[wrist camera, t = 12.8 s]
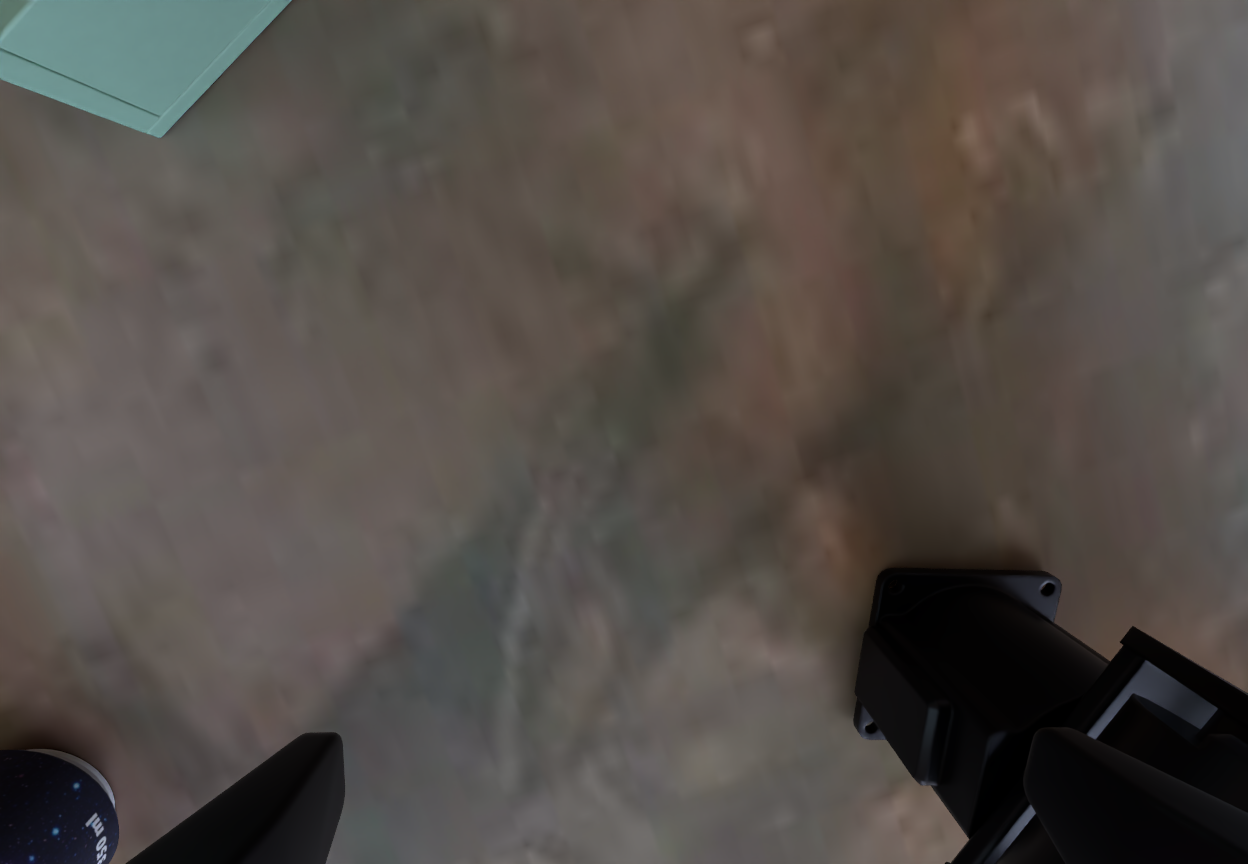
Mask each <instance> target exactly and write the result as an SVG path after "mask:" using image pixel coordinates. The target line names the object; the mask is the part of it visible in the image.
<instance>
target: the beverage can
mask: <svg viewBox="0 0 1248 864" xmlns="http://www.w3.org/2000/svg"><path fill="white" fill-rule="evenodd" d="M118 839H119V825H118V819H117V814H116V811H115V800H114V796H113V792H112V790H111V788H110V786H109V784H108V782H107V781H106V780H105V778H104V777H103V776H102V775H101V774H100V773H99V771H98V770H96V769H95V768H94V767H93V766H91V765H90V764H89V763H87V762H85V761H84V760H82V759H80V758H78V757H76V756H73V755H71V754H68V753H65V752H61V751H56V750H51V749H29V750H0V864H109V862H110V861H111V859H112V857H113V855H114V853H115V851H116V848H117V844H118Z"/></svg>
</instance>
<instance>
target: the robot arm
mask: <svg viewBox="0 0 1248 864" xmlns="http://www.w3.org/2000/svg"><path fill="white" fill-rule="evenodd" d="M893 580H897V583H896V585H895V586H893V587H892V588H889V585H890V583H891V582H892V581H893ZM1044 584H1046V585H1045V587H1044V588H1043V589H1042V590H1041V588H1042V586H1043V585H1044ZM1061 586H1062V584H1061V582H1060V580H1059V579H1058V578H1056V577H1055V576H1053V575H1051V574H1050V573H1048V572H1045V571H1022V570H974V569H925V568H888V569H885V570H884V571H882V572H881V573H880V574H879V575H878V577H877V580H876V584H875V590H874V596H873V603H872V609H871V615H870V621H869V627H868V628H867V629H866V631H865V632H864V637H863V643H862V649H861V655H860V661H859V668H858V674H857V680H856V686H855V695H856V696H857V701H856V707H855V713H854V719H853V722H854V726H855V728H856V729H857V731H858V732H859V734H860V735H861V737H863V738H864V739H869V740H887V741H888V742H889V744H890V745H891V747H892V748H893V749H894V751H895V752H896V754H897V755H898V757H899V758H900V760H901V761H902V762H903V764H904V765H905V767H906V768H907V770H908V771H909V773H910V774H911V775H912V777H913V778H914V779H915V780H916V781H917V782H918V783H919V784H920V785H931V787H932V788H933V789H934V791H935V792H936V794H937V795H938V796H939V798H940V799H941V801H942V802H943V803H944V805H945V806H946V808H947V809H948V810H949V812H950V813H951V814H952V816H953V817H954V819H955V820H956V821H957V823H958V824H959V826H960V827H961V828H962V830H963V831H964V833H965V834H966V835H967V837H968V838H969V841H968V842H967V843H966V844H965V846H964V847H963V848H962V850H961V851H960V852H959V853H958V855H957V856H956V857H955V858H954V860H953V861H952V862H951V863H949V862H946V863H945V864H1248V693H1246V692H1245V691H1243V690H1241V689H1239V688H1238V687H1236V686H1234V685H1233V684H1231V683H1229V682H1228V681H1226V680H1224V679H1222V678H1221V677H1219V676H1217V675H1216V674H1214V673H1212V672H1210V671H1209V670H1207V669H1205V668H1204V667H1202V666H1200V665H1199V664H1197V663H1195V662H1193V661H1192V660H1190V659H1188V658H1187V657H1185V656H1183V655H1181V654H1180V653H1178V652H1176V651H1175V650H1173V649H1171V648H1170V647H1168V646H1166V645H1164V644H1163V643H1161V642H1159V641H1158V640H1156V639H1154V638H1152V637H1151V636H1149V635H1147V634H1146V633H1144V632H1142V631H1140V630H1139V629H1137V628H1135V627H1134V626H1132V627H1131V629H1130V630H1129V631H1128V633H1127V634H1126V635H1125V636H1124V638H1123V639H1122V640H1121V641H1120V643H1121V644H1123V647H1122V648H1121V649H1120V650H1119V652H1118V653H1117V654H1116V655H1115V657H1114V658H1113V659H1112V660H1111V662H1110V661H1109V660H1107V659H1106V658H1104V657H1103V656H1102V655H1100V654H1099V653H1097V652H1096V651H1094V650H1093V649H1091V648H1090V647H1088V646H1087V645H1086V644H1084V643H1083V642H1081V641H1080V640H1078V639H1077V638H1075V637H1074V636H1073V635H1071V634H1070V633H1068V632H1067V631H1065V630H1064V629H1062V628H1061V627H1059V626H1058V625H1057V624H1055V623H1054V619H1055V614H1056V610H1057V606H1058V602H1059V598H1060V593H1061ZM872 721H873V722H872ZM869 722H872V723H871V724H870V725H868V726H866V724H868V723H869ZM344 797H345V778H344V759H343V743H342V739H341V737H340V735H338V734H337V733H334V732H320V733H305V734H302V735H301V736H299V737H297V738H296V739H295V740H293V741H292V742H291V743H289V744H288V745H287V746H285V747H284V748H282V749H281V750H280V751H278V752H277V753H276V754H274V755H273V756H272V757H270V758H269V759H267V760H266V761H265V762H263V763H262V764H261V765H259V766H258V767H257V768H255V769H254V770H252V771H251V772H250V773H248V774H247V775H246V776H244V777H243V778H242V779H240V780H239V781H237V782H236V783H235V784H233V785H232V786H231V787H229V788H228V789H227V790H225V791H224V792H222V793H221V794H220V795H218V796H217V797H216V798H214V799H213V800H212V801H210V802H209V803H208V804H206V805H205V806H203V807H202V808H201V809H199V810H198V811H197V812H195V813H194V814H193V815H191V816H190V817H188V818H187V819H186V820H184V821H183V822H182V823H180V824H179V825H178V826H176V827H175V828H173V829H172V830H171V831H169V832H168V833H167V834H165V835H164V836H163V837H161V838H160V839H158V840H157V841H156V842H154V843H153V844H152V845H150V846H149V847H148V848H146V849H145V850H143V851H142V852H141V853H139V854H138V855H137V856H135V857H134V858H133V859H131V860H130V861H128V862H127V863H126V864H325V863H326V860H327V857H328V854H329V851H330V847H331V844H332V841H333V838H334V835H335V832H336V828H337V825H338V822H339V819H340V816H341V812H342V808H343V804H344Z"/></svg>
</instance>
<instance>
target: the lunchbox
mask: <svg viewBox="0 0 1248 864" xmlns="http://www.w3.org/2000/svg"><path fill="white" fill-rule="evenodd" d="M291 1H292V0H0V79H1V80H4V81H7V82H9V83H12V84H15V85H18V86H20V87H23V88H26V89H28V90H31V91H34V92H36V93H39V94H42V95H44V96H47V97H50V98H52V99H55V100H58V101H60V102H63V103H66V104H68V105H71V106H74V107H76V108H79V109H82V110H85V111H87V112H90V113H93V114H95V115H98V116H101V117H103V118H106V119H109V120H111V121H114V122H117V123H119V124H122V125H125V126H127V127H130V128H133V129H135V130H138V131H141V132H143V133H147V134H150V135H152V136H155V137H158V138H161V137H162V136H163V135H164V134H165V133H166V132H167V131H168V130H169V129H170V128H171V127H172V126H173V125H174V124H175V123H176V122H177V121H178V120H179V118H180V117H181V116H182V115H183V114H184V113H185V112H186V111H187V110H188V109H189V108H190V107H191V106H192V105H193V104H194V103H195V102H196V101H197V100H198V98H199V97H200V96H201V95H202V94H203V93H204V92H205V91H206V90H207V89H208V88H209V87H210V86H211V85H212V84H213V83H214V82H215V81H216V80H217V78H218V77H219V76H220V75H221V74H222V73H223V72H224V71H225V70H226V69H227V68H228V67H229V66H230V65H231V64H232V63H233V62H234V61H235V60H236V58H237V57H238V56H239V55H240V54H241V53H242V52H243V51H244V50H245V49H246V48H247V47H248V46H249V45H250V44H251V43H252V42H253V41H254V40H255V39H256V37H257V36H258V35H259V34H260V33H261V32H262V31H263V30H264V29H265V28H266V27H267V26H268V25H269V24H270V23H271V22H272V21H273V20H274V19H275V17H276V16H277V15H278V14H279V13H280V12H281V11H282V10H283V9H284V8H285V7H286V6H287V5H288V4H289V3H290V2H291Z"/></svg>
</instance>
